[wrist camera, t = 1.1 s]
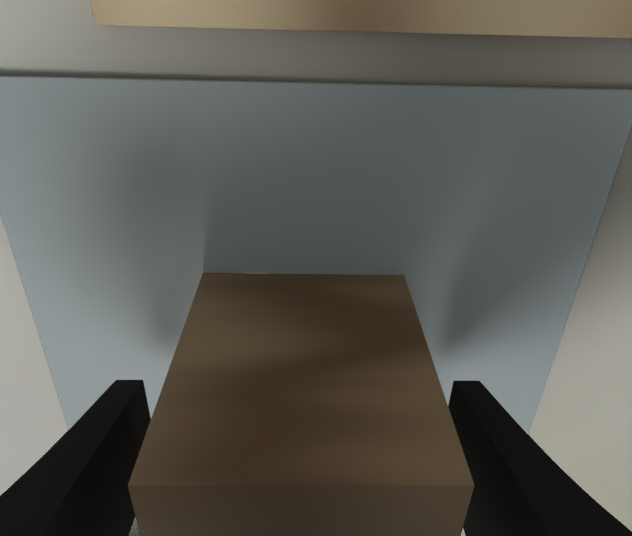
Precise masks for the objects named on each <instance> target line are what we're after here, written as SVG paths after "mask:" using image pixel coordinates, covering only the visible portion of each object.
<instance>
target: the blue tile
mask: <svg viewBox="0 0 632 536" xmlns="http://www.w3.org/2000/svg"><path fill="white" fill-rule="evenodd" d="M631 126H632V89H608V88H563V87H517V86H471V85H425V84H379V83H333V82H288V81H242V80H196V79H150V78H104V77H58V76H12V75H0V214H1V217H2V220H3V223H4V227H5V230H6V233H7V236H8V239H9V243H10V246H11V249H12V252H13V255H14V258H15V262H16V265H17V268H18V271H19V274H20V277H21V281H22V284H23V287H24V290H25V293H26V296H27V300H28V303H29V306H30V309H31V312H32V316H33V319H34V322H35V325H36V328H37V331H38V335H39V338H40V341H41V344H42V347H43V350H44V354H45V357H46V360H47V363H48V366H49V370H50V373H51V376H52V379H53V382H54V385H55V389H56V392H57V395H58V398H59V401H60V404H61V408H62V411H63V414H64V417H65V420H66V423H67V427H68V430H69V429H70V428H71V427H72V426H73V425H74V424H75V423H76V422H77V421H78V420H79V419H80V418H81V417H82V416H83V414H84V413H85V412H86V411H87V410H88V409H89V408H90V407H91V406H92V405H93V404H94V403H95V402H96V400H97V399H98V398H99V397H100V396H101V395H102V394H103V393H104V392H105V391H106V390H107V389H108V388H109V387H110V386H111V384H112V383H114V382H115V381H116V380H143V382H144V387H145V392H146V397H147V402H148V407H149V412H150V417H151V418H152V415H153V412H154V410H155V407H156V404H157V401H158V398H159V395H160V393H161V390H162V387H163V384H164V381H165V378H166V376H167V373H168V370H169V367H170V364H171V362H172V359H173V356H174V353H175V350H176V347H177V345H178V342H179V339H180V336H181V333H182V330H183V328H184V325H185V322H186V319H187V316H188V313H189V311H190V308H191V305H192V302H193V299H194V297H195V294H196V291H197V288H198V285H199V282H200V280H201V277H202V274H203V273H251V274H339V275H404V276H405V279H406V282H407V285H408V288H409V291H410V294H411V297H412V300H413V303H414V306H415V309H416V312H417V315H418V318H419V321H420V324H421V327H422V330H423V333H424V336H425V339H426V342H427V345H428V348H429V351H430V354H431V357H432V360H433V363H434V366H435V369H436V372H437V375H438V378H439V381H440V384H441V387H442V390H443V393H444V396H445V399H446V402H447V405H449V400H450V395H451V391H452V386H453V381H480V382H481V383H482V384H483V385H484V386H485V387H486V388H487V390H488V391H489V392H490V393H491V394H492V395H493V396H494V397H495V399H496V400H497V401H498V402H499V403H500V404H501V405H502V406H503V408H504V409H505V410H506V411H507V412H508V413H509V414H510V415H511V416H512V418H513V419H514V420H515V421H516V422H517V423H518V424H519V425H520V426H521V428H522V429H523V430H524V431H525V432H526V433H527V434H529V431H530V428H531V425H532V422H533V419H534V416H535V413H536V410H537V407H538V404H539V401H540V398H541V395H542V392H543V389H544V386H545V383H546V380H547V377H548V374H549V371H550V368H551V366H552V363H553V360H554V357H555V354H556V351H557V348H558V345H559V342H560V339H561V336H562V333H563V330H564V327H565V324H566V321H567V318H568V315H569V312H570V309H571V306H572V303H573V300H574V297H575V294H576V291H577V288H578V285H579V282H580V279H581V276H582V273H583V270H584V267H585V264H586V261H587V258H588V255H589V252H590V249H591V246H592V243H593V240H594V237H595V234H596V231H597V228H598V225H599V222H600V219H601V216H602V213H603V210H604V207H605V204H606V201H607V198H608V195H609V192H610V189H611V186H612V183H613V180H614V177H615V174H616V171H617V168H618V165H619V162H620V159H621V156H622V153H623V150H624V147H625V144H626V141H627V138H628V135H629V132H630V129H631Z"/></svg>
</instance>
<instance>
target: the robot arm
mask: <svg viewBox="0 0 632 536" xmlns="http://www.w3.org/2000/svg"><path fill="white" fill-rule="evenodd" d="M448 408H449V411H450V414H451V417H452V420H453V423H454V426H455V429H456V432H457V435H458V438H459V441H460V444H461V447H462V449H463V452H464V455H465V458H466V461H467V464H468V467H469V470H470V473H471V476H472V479H473V482H474V489H473V492H472V496H471V500H470V503H469V507H468V510H467V514H466V518H465V521H464V525H463V528H464V531H465V534H466V536H632V532H631V531H630V530H629V529H628V528H627V527H625V526H624V525H623V524H622V523H621V522H619V521H618V520H617V519H616V518H615V517H614V516H612V515H611V514H610V513H609V512H608V511H606V510H605V509H604V508H603V507H602V506H601V505H599V504H598V503H597V502H596V501H595V500H594V499H593V498H592V497H590V496H589V495H588V494H587V493H586V492H585V491H584V490H583V489H582V488H581V487H580V486H579V485H578V484H576V483H575V482H574V481H573V480H572V479H571V478H570V477H569V476H568V475H567V474H566V473H565V472H564V471H563V470H562V469H561V468H560V467H559V466H558V465H557V464H556V463H555V462H554V461H553V460H552V459H551V458H550V457H549V456H548V455H547V454H546V453H545V452H544V451H543V450H542V449H541V448H540V447H539V446H538V445H537V444H536V442H535V441H534V440H533V439H532V438H531V437H530V436H529V435H528V434H527V433H526V432H525V431H524V430H523V429H522V428H521V426H520V425H519V424H518V423H517V422H516V421H515V420H514V419H513V418H512V416H511V415H510V414H509V413H508V412H507V411H506V410H505V409H504V408H503V406H502V405H501V404H500V403H499V402H498V401H497V400H496V399H495V397H494V396H493V395H492V394H491V393H490V392H489V391H488V390H487V388H486V387H485V386H484V385H483V384H482V383H481V382H480V381H453V386H452V391H451V395H450V400H449V405H448ZM150 421H151V417H150V412H149V407H148V402H147V397H146V392H145V387H144V382H143V380H116V381H115V382H114V383H112V384H111V386H110V387H109V388H108V389H107V390H106V391H105V392H104V393H103V394H102V395H101V396H100V397H99V398H98V399H97V400H96V402H95V403H94V404H93V405H92V406H91V407H90V408H89V409H88V410H87V411H86V412H85V413H84V414H83V416H82V417H81V418H80V419H79V420H78V421H77V422H76V423H75V424H74V425H73V426H72V427H71V428H70V429H69V430H68V431H67V432H66V433H65V434H64V435H63V436H62V437H61V438H60V439H59V440H58V441H57V442H56V443H55V444H54V445H53V447H52V448H51V449H50V450H49V451H48V452H47V453H46V454H45V455H44V456H43V457H42V458H40V459H39V460H38V461H37V462H36V463H35V464H34V465H33V466H32V467H31V468H30V469H29V470H28V471H27V472H26V473H25V474H24V475H22V476H21V477H20V478H19V479H18V480H17V481H16V482H15V483H14V484H13V485H12V486H11V487H10V488H9V489H7V490H6V491H5V492H4V493H3V494H2V495H1V496H0V536H128V535H129V532H130V529H131V526H132V524H133V521H134V518H135V512H134V508H133V504H132V500H131V496H130V492H129V488H128V483H129V480H130V477H131V475H132V472H133V469H134V466H135V463H136V460H137V458H138V455H139V452H140V449H141V446H142V443H143V441H144V438H145V435H146V432H147V429H148V427H149V424H150Z"/></svg>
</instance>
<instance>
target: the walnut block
mask: <svg viewBox="0 0 632 536" xmlns="http://www.w3.org/2000/svg"><path fill="white" fill-rule="evenodd" d="M128 488H129V492H130V496H131V500H132V504H133V508H134V512H135V516H136V520H137V524H138V528H139V532H140V536H461V532H462V528H463V525H464V521H465V518H466V514H467V510H468V507H469V503H470V500H471V496H472V492H473V489H474V482H473V479H472V476H471V473H470V470H469V467H468V464H467V461H466V458H465V455H464V452H463V449H462V447H461V444H460V441H459V438H458V435H457V432H456V429H455V426H454V423H453V420H452V417H451V414H450V411H449V408H448V405H447V402H446V399H445V396H444V393H443V390H442V387H441V384H440V381H439V378H438V375H437V372H436V369H435V366H434V363H433V360H432V357H431V354H430V351H429V348H428V345H427V342H426V339H425V336H424V333H423V330H422V327H421V324H420V321H419V318H418V315H417V312H416V309H415V306H414V303H413V300H412V297H411V294H410V291H409V288H408V285H407V282H406V279H405V276H404V275H339V274H251V273H203V274H202V277H201V280H200V282H199V285H198V288H197V291H196V294H195V297H194V299H193V302H192V305H191V308H190V311H189V313H188V316H187V319H186V322H185V325H184V328H183V330H182V333H181V336H180V339H179V342H178V345H177V347H176V350H175V353H174V356H173V359H172V362H171V364H170V367H169V370H168V373H167V376H166V378H165V381H164V384H163V387H162V390H161V393H160V395H159V398H158V401H157V404H156V407H155V410H154V412H153V415H152V418H151V421H150V424H149V427H148V429H147V432H146V435H145V438H144V441H143V443H142V446H141V449H140V452H139V455H138V458H137V460H136V463H135V466H134V469H133V472H132V475H131V477H130V480H129V483H128Z"/></svg>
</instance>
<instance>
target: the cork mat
mask: <svg viewBox="0 0 632 536" xmlns="http://www.w3.org/2000/svg"><path fill="white" fill-rule="evenodd" d="M91 4H92V10H93V16H94V21H95V25H111V26H151V27H192V28H232V29H273V30H314V31H354V32H395V33H436V34H476V35H517V36H558V37H598V38H632V0H91Z"/></svg>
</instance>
